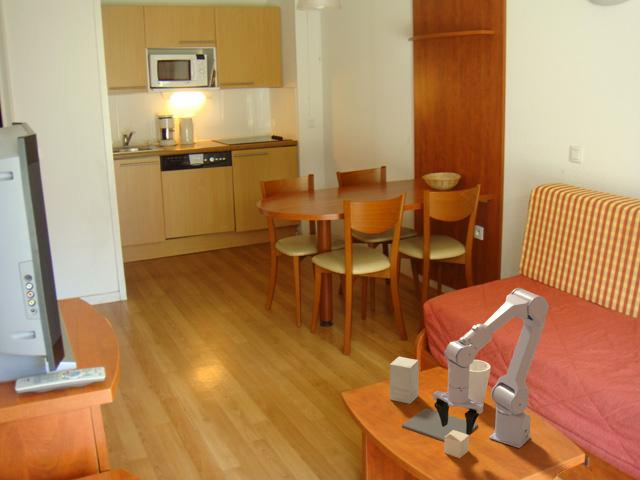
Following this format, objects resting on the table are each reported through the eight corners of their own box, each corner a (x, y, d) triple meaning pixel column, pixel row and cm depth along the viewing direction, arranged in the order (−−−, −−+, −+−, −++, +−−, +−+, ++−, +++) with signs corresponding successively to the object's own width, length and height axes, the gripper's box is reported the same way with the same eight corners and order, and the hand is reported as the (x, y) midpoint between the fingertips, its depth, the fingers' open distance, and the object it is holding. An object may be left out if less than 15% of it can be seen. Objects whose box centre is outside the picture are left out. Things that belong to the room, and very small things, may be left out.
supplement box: (419, 395, 242) (419, 360, 239) (409, 404, 235) (410, 368, 232) (398, 391, 245) (398, 355, 242) (389, 399, 239) (389, 363, 236)
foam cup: (452, 401, 237) (454, 364, 234) (473, 394, 242) (474, 357, 239) (474, 412, 229) (475, 374, 226) (495, 404, 234) (496, 367, 231)
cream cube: (468, 451, 207) (469, 435, 206) (459, 458, 203) (460, 442, 202) (452, 445, 210) (453, 429, 209) (444, 452, 207) (444, 436, 205)
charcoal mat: (477, 426, 221) (477, 424, 221) (455, 445, 210) (455, 443, 210) (425, 409, 232) (425, 407, 232) (401, 426, 221) (401, 424, 221)
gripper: (427, 382, 203) (426, 427, 207) (475, 396, 194) (473, 442, 198) (440, 374, 209) (439, 417, 212) (487, 387, 200) (485, 432, 203)
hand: (456, 429), depth 205 cm, fingers open, 7 cm apart
